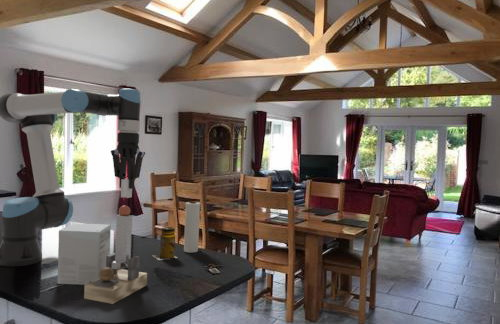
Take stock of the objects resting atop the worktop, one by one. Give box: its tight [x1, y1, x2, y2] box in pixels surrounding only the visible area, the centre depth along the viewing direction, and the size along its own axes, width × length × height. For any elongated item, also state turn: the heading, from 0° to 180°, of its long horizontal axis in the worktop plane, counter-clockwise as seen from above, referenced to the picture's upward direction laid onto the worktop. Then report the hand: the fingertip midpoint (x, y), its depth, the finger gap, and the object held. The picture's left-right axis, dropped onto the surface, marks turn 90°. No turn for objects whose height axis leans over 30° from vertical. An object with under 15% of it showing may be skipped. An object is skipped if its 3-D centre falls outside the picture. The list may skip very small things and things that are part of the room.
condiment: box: [151, 226, 178, 261], centre depth 174 cm, size 7×8×12 cm
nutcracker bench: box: [83, 252, 148, 305], centre depth 132 cm, size 18×10×10 cm, turn 162°
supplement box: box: [57, 222, 112, 286], centre depth 143 cm, size 13×13×18 cm
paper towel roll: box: [183, 201, 201, 254], centre depth 185 cm, size 7×6×21 cm
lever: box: [112, 205, 133, 271], centre depth 133 cm, size 5×6×19 cm
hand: (126, 197), depth 155 cm, fingers closed
